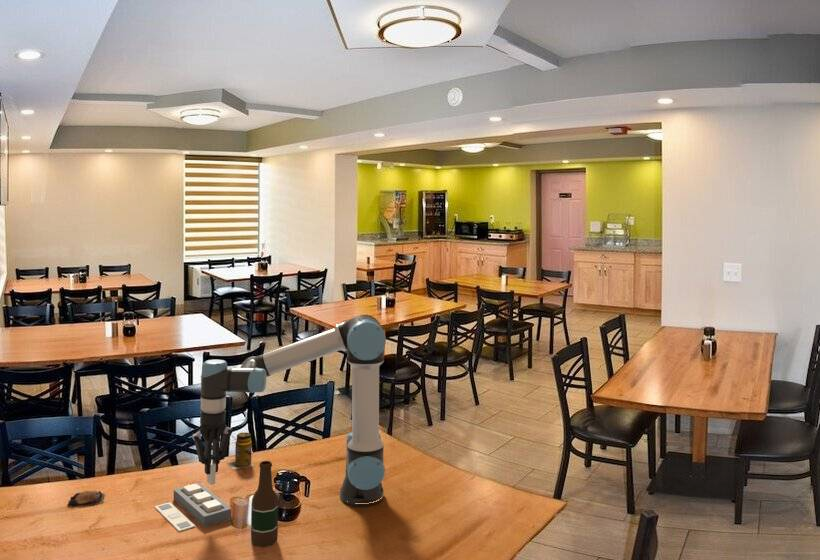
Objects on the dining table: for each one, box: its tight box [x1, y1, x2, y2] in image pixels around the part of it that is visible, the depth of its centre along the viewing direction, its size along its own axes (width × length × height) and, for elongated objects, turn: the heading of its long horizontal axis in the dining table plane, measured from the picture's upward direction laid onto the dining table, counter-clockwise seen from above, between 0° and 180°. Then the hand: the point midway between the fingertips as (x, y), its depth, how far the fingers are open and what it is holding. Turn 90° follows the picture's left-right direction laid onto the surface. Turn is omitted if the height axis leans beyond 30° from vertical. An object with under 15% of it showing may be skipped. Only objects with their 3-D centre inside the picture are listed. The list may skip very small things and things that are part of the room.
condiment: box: [227, 432, 255, 470], centre depth 240 cm, size 7×8×12 cm
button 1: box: [182, 483, 202, 496], centre depth 209 cm, size 4×4×2 cm
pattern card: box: [154, 502, 196, 533], centre depth 197 cm, size 20×5×1 cm, turn 42°
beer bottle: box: [250, 460, 279, 548], centre depth 184 cm, size 8×8×24 cm
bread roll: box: [67, 490, 106, 508], centre depth 206 cm, size 11×8×4 cm
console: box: [173, 482, 233, 528], centre depth 203 cm, size 24×9×4 cm, turn 42°
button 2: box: [202, 499, 222, 513], centre depth 198 cm, size 4×4×2 cm
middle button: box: [192, 491, 211, 504], centre depth 203 cm, size 4×4×2 cm
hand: (211, 482), depth 197 cm, fingers closed
